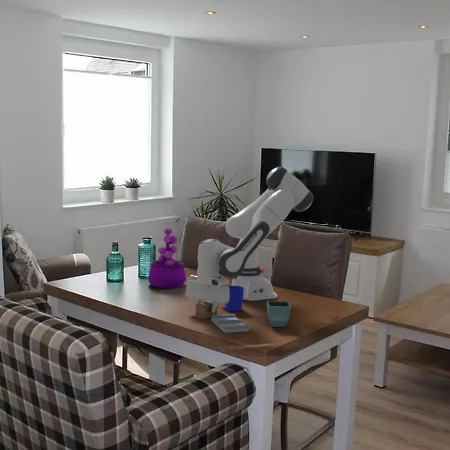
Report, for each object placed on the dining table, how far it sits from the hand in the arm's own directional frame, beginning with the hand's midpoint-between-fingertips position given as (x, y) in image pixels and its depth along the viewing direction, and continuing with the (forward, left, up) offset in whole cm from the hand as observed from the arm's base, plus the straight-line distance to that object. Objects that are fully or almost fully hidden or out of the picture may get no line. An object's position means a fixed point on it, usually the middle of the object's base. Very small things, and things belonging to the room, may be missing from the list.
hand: (206, 310), depth 258 cm
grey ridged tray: (-5, +16, -2) cm, 16 cm away
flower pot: (-24, +19, -2) cm, 31 cm away
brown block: (0, 0, -2) cm, 2 cm away
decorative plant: (+5, -53, -2) cm, 53 cm away
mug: (-13, -8, -2) cm, 15 cm away
